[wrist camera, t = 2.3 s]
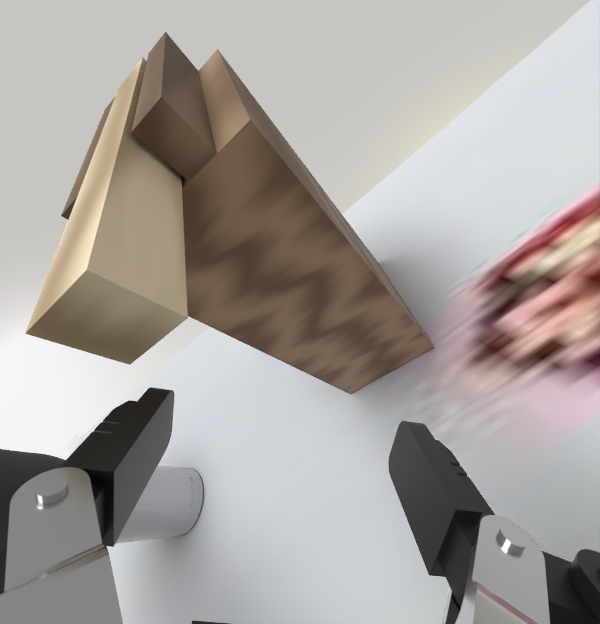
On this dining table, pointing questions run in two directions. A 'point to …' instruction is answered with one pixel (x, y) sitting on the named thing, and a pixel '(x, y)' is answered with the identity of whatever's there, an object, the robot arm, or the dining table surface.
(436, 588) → the dining table surface
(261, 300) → the pedestal
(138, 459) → the robot arm
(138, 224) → the wooden block
